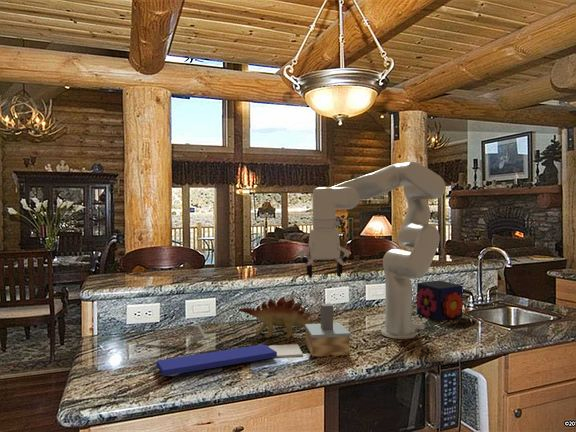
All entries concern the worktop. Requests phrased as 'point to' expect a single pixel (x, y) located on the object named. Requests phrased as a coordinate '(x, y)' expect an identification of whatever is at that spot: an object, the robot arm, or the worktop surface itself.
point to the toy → (280, 316)
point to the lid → (327, 325)
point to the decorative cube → (439, 300)
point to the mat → (287, 350)
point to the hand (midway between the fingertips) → (324, 276)
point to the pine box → (327, 345)
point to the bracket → (190, 327)
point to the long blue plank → (214, 359)
